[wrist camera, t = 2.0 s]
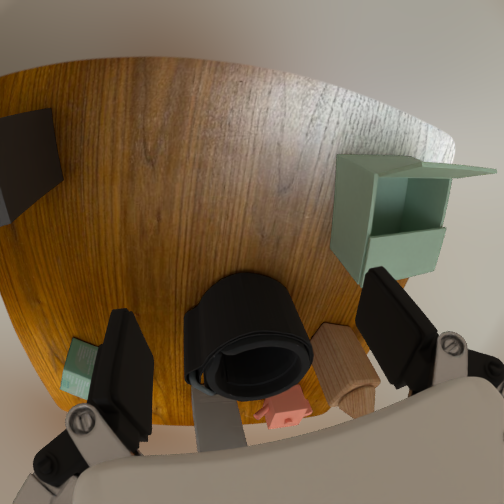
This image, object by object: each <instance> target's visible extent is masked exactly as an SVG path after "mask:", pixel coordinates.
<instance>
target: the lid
mask: <svg viewBox="0 0 504 504" xmlns="http://www.w3.org/2000/svg"><path fill="white" fill-rule="evenodd" d="M494 173H497V170H496V169H491V168H483V167H474V166H466V165H456V164H445V163H432V162H419V163H415V164H411V165H407V166H403V167H400V168H396V169H392V170H388V171H385V172H381V173H379V177H430V178H463V177H471V176H478V175H486V174H494Z"/></svg>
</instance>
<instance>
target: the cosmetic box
mask: <svg viewBox="0 0 504 504" xmlns="http://www.w3.org/2000/svg"><path fill="white" fill-rule="evenodd" d="M202 386H204V387H205V385H202ZM191 387H192V409H193V418H194V426H195V434H196V442H197V450H198V452H209V451H218V450H226V449H233V448H240V447H246V446H247V442H246V438H245V434H244V430H243V426H242V422H241V418H240V413H239V409H238V405H237V400H232V399H228V398H225V397H222V396H220V395H213V396H209V395H207V394H205V393H203V392H202V391H200V390H198V389H196V388H194V387H193V386H191Z"/></svg>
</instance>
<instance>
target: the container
mask: <svg viewBox="0 0 504 504" xmlns="http://www.w3.org/2000/svg"><path fill="white" fill-rule="evenodd" d="M419 162H423V161H421V160H418V159H416V158H414V157H411V156H397V155H368V154H337V159H336V179H335V195H334V209H333V221H332V232H331V242H330V249H331V250H332V251H333V253H334V254H335V255H336V256H337V258H338V259H339V260H340V262H341V263H342V264H343V265H344V267H345V268H346V269H347V271H348V272H349V273H350V275H351V276H352V277H353V279H354V280H355V281H356V282H357V284H360V287H361V288H362V287H363V282H364V277H365V274H366V273H367V272H368V270H369V269H370V268H374V267H379V266H383V267H384V268H385V269H386V270H387V271H388V272H389V273H390V274H391V275H392V277H393V278H394V279H395V280H399V279H404V278H408V277H412V276H416V275H420V274H424V273H428V272H432V271H434V269H435V266H436V263H437V260H438V257H439V253H440V250H441V246H442V243H443V239H444V236H445V232H446V228H445V227H442V226H443V222H444V218H445V213H446V209H447V204H448V199H449V194H450V189H451V183H452V178H430V177H379V173H381V172H385V171H388V170H392V169H396V168H400V167H403V166H407V165H411V164H415V163H419Z"/></svg>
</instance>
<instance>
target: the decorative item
mask: <svg viewBox="0 0 504 504" xmlns="http://www.w3.org/2000/svg"><path fill="white" fill-rule="evenodd" d="M310 342H311V345H312V348H313V352H314V358H313V362H312V365H313V367H314V370H315V372H316V375H317V377H318V380H319V382H320V385H321V387H322V390H323V392H324V395H325V397H326V400H327V402H328V405H329V406H331V407H335V406H339V408H340V409H341V410H343V411H344V412H345V413H347V414H348V415H350V416H351V417H352V418H354V419H356V418H359V417H361V416H364V415H367V414H369V413H372V412H374V404H375V388H376V387H377V386H378V385H379V384H380V382H381V381H380V378H379V376H378V375H377V373H376V371H375V369H374V368H373V366H372V364H371V362H370V360H369V359H368V357H367V355H366V353H365V351H364V350H363V348H362V346H361V344H360V343H359V341H358V339H357V338H356V336H355V334H354V332H353V331H352V329H351V328H350V327H348V326H342V325H335V324H329V323H323V324H322V325H321V327H320V328H319V329H318V331H317V332H316V333H315V335H314V336H313V338H312V339H311V340H310Z"/></svg>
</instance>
